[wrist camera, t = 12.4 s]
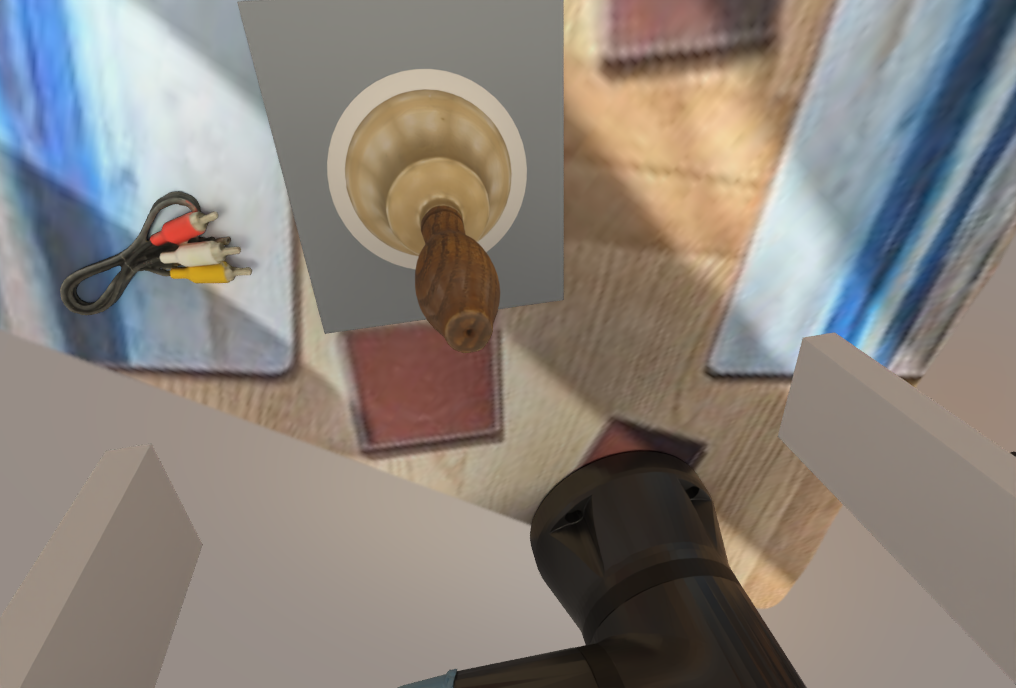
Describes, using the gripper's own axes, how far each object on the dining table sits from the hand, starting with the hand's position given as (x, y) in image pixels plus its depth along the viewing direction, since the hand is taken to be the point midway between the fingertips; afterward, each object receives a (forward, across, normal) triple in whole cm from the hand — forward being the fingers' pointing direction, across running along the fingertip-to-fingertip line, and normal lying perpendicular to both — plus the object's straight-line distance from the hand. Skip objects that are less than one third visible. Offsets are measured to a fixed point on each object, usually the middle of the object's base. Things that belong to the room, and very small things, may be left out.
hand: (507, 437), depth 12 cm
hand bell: (+20, 0, -1) cm, 20 cm away
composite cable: (+22, +15, +2) cm, 26 cm away
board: (+21, 0, -1) cm, 21 cm away
